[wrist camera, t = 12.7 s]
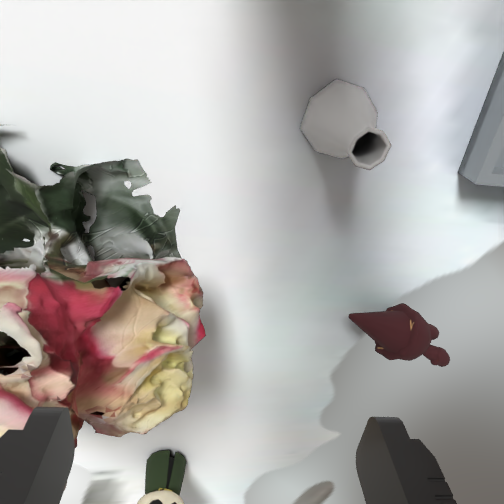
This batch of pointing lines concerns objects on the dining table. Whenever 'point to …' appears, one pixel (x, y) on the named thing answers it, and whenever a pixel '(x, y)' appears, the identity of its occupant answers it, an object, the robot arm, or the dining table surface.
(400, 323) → the icecream
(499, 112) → the slate tray
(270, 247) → the dining table surface
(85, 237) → the rose bouquet
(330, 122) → the flask
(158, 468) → the character mug
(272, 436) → the dining table surface
